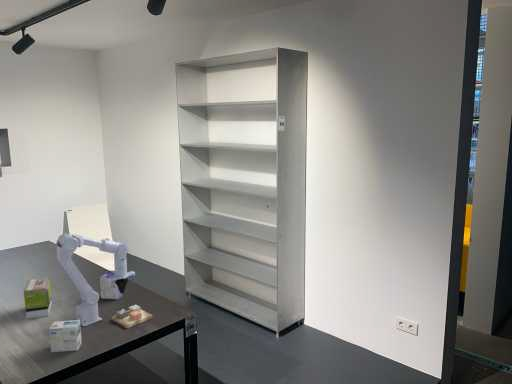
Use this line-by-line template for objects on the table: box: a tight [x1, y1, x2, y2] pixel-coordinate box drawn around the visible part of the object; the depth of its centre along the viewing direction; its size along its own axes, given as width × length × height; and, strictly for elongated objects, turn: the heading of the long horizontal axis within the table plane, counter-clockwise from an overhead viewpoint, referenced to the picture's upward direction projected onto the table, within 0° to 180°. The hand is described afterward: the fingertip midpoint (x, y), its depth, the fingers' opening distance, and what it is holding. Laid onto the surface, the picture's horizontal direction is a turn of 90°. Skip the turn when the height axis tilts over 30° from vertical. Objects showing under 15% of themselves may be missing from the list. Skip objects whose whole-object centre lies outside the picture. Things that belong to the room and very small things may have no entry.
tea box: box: [23, 277, 52, 320], centre depth 209 cm, size 15×10×15 cm, turn 21°
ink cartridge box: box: [99, 270, 123, 300], centre depth 226 cm, size 10×6×14 cm, turn 82°
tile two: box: [128, 304, 142, 313], centre depth 207 cm, size 4×4×2 cm
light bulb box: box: [48, 319, 82, 353], centre depth 175 cm, size 11×7×11 cm, turn 99°
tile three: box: [115, 308, 128, 319], centre depth 201 cm, size 4×4×2 cm
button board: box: [111, 309, 153, 329], centre depth 202 cm, size 14×13×2 cm
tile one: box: [129, 311, 142, 320], centre depth 200 cm, size 4×4×2 cm
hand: (121, 292), depth 210 cm, fingers closed
